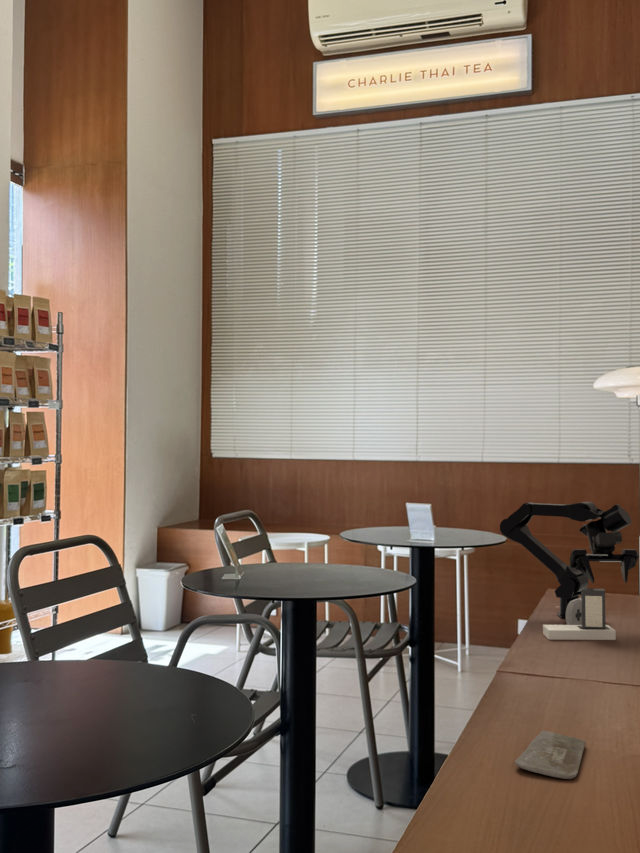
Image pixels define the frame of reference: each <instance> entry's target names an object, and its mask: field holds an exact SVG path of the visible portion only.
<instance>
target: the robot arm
mask: <svg viewBox="0 0 640 853" xmlns="http://www.w3.org/2000/svg"><path fill="white" fill-rule="evenodd" d="M534 516H540V517H541V516H544V517H559V518H560V517H561V518H562V517H563V518H566V519H569V520H573V521H576V522H577V521H578V522H580V523H581V522H588V521H590V522H588V523H585V524H583V525H582V526H581V527H580V528H579V532H580V533H582V535H584V536H585V537H587V539H588V542H589V551H591V553H587V552H588V551H587V549H586V548H585V549H583V548H581V549H579V548H577V549H575V548H573V549H572V551H571V553H570V556H569V565H568V564H566V563H565V562H564V561H562V560H561V559H560V558H559V557H558V556H557V555H556V554H555V553H553V552H552V551H551V550H550V549H548V547H546V545H544V544H543V543H542V542H541V541H540V540H538V539H537V537H535V536H534V535H533V534H532V533H531V530H530V528H529V526H528V524H529V523H530V521H531V520H532V518H533V517H534ZM631 524H632V519H631V515H629V513H628V512H627V511H626V510H625V509H624V508H623V507H621V505H620V504H614V505H613V506H612V507H611V508H608V510H607V509H606V510H603V509H601V508H599V507H597V506H596V504H595V503H594V502H592V501H582V502H575V503H569V504H567V503H566V504H563V503H562V504H561V503H559V504H558V503H541V502H540V503H538V502H532V501H531V502H524V503H522V505H520V507H519V508H518V509H516V510H515V511H514V512H513V513H511V514H510V515H509V516H508V517H507V518H504V519H502V520H501V522H500V524H499V531H500V533H501V534H502V535H503V536H504V537H506V538H507V539H509V540H510V541H512V542H515V543H517V544H520V545H521V546H522V547H523V548H524V549H526V550H527V551H528V552H529V553H531V555H532V556H534V557H535V559H537V560H538V561H539V562H540V563H541V564H543V565H544V566H545V567H546V568H547V569H549V571H550V572H552V574H554V576H555V578H556V580H557V582H558V584H559V586H558V587H556V589H555V590H554V594H555V597H556V598H559V611H557V612H556V615H557V616H558V617H559V618H561V619H566V609H567V606H568V604H569V602H570V601H572V600H574V599H578V598H580V597H581V588H588V586H589V581H590V582H591V583H592V584H594V583H595V576H594V573H593V571H592V567H591V563H590V562H598V563H599V562H601V563H619V565H620V571H621V576H622V579H623V582H624V583H625V584H627V583H628V577H629V571H630V570H632V569H633V568H635V567H636V566H637V564H638V563H637V562H638V560H639V557H640V555H639V552H638V551H637V549H633V548H632V549H630V548H628V549H627V548H623V549H622V550H621V553H620V554H619V553H618V554H614V553H613V552H615V551H616V547H615V546H616V545H617V544H621V543H622V542H623V536H622V532H621V531H620V530H622V529H624V528H627V527H628V526H629V525H631Z"/></svg>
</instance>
